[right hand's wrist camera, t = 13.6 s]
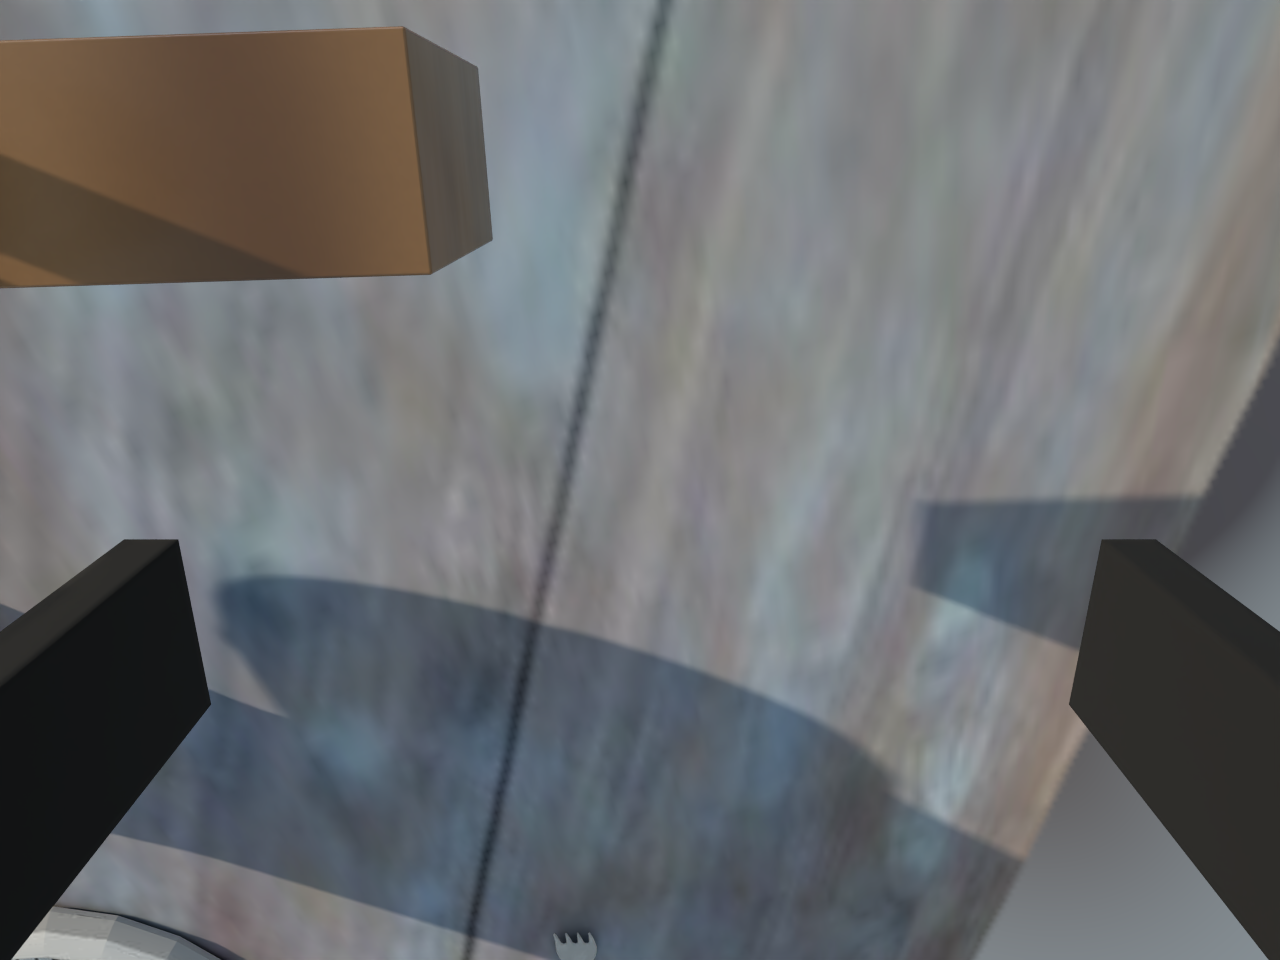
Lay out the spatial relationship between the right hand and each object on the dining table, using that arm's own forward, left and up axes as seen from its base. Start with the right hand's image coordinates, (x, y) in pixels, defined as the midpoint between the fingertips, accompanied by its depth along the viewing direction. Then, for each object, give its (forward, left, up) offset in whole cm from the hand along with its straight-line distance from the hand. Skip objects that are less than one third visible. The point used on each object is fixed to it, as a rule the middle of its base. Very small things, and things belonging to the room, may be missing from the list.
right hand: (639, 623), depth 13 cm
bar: (+15, -10, -17) cm, 25 cm away
